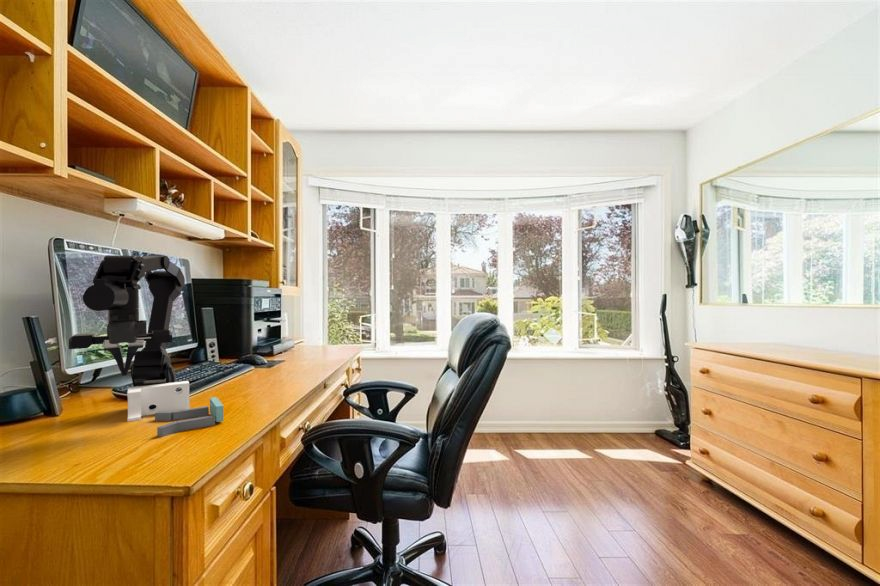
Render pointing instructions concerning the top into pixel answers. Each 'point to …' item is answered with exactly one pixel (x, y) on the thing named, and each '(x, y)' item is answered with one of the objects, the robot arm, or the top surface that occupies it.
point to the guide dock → (183, 424)
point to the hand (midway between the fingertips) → (124, 375)
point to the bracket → (157, 399)
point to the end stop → (216, 409)
